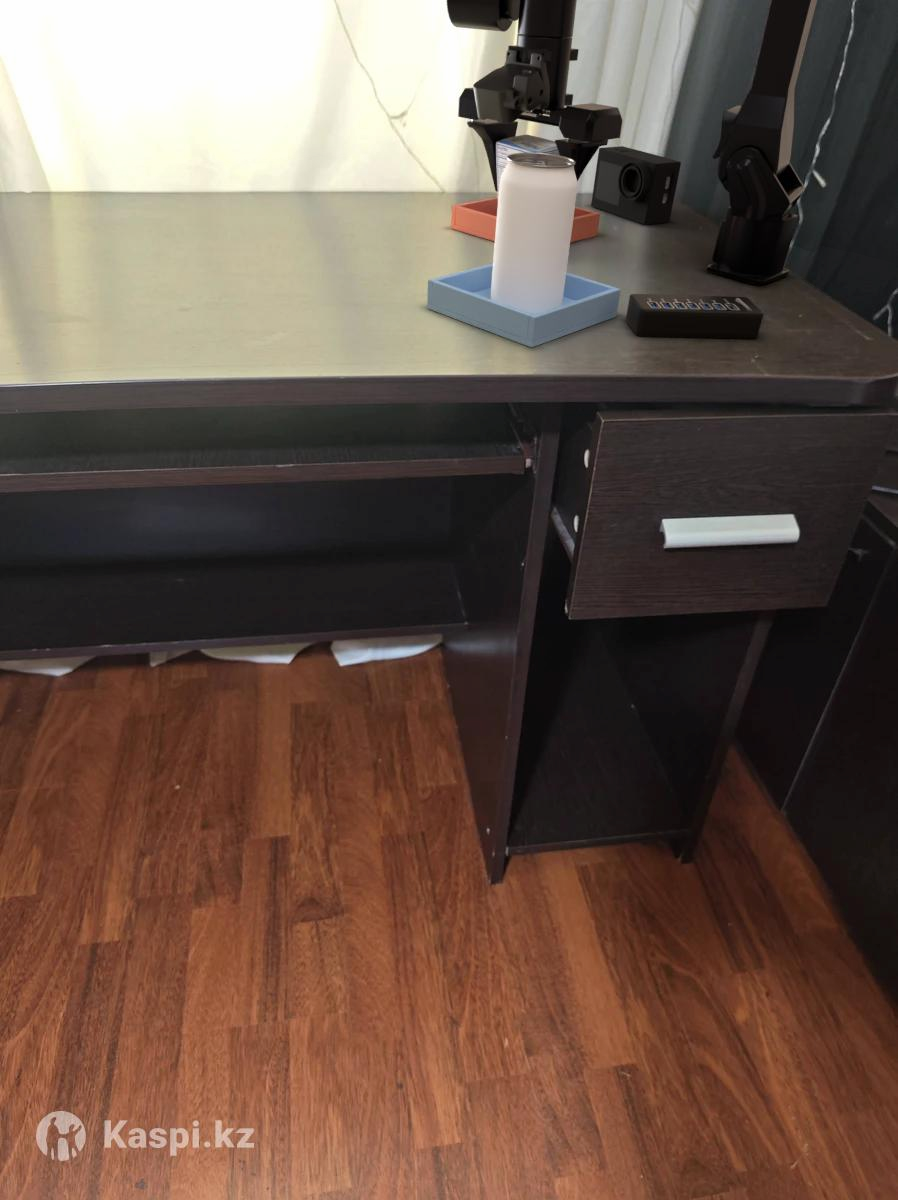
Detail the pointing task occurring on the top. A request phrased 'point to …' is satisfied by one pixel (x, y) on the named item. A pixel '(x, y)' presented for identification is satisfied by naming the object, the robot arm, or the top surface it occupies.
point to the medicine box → (521, 149)
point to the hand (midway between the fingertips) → (528, 199)
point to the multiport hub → (693, 316)
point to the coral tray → (483, 218)
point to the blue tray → (473, 305)
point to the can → (533, 231)
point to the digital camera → (635, 184)
